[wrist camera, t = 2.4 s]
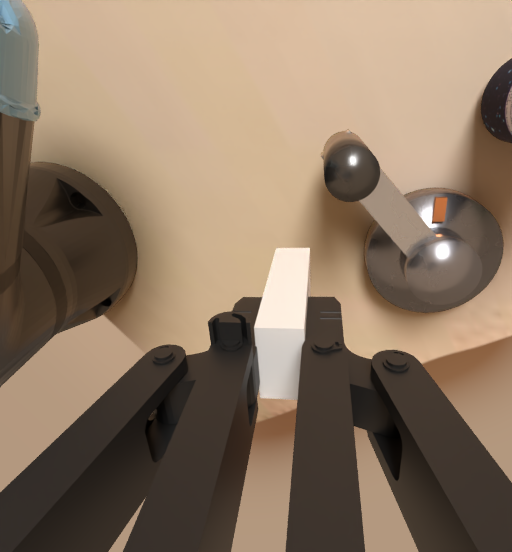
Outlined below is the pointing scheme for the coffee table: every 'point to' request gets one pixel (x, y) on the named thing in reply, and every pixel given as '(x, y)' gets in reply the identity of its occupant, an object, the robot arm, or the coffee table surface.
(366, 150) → the crank
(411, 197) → the crank base
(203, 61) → the coffee table surface
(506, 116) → the beverage can
